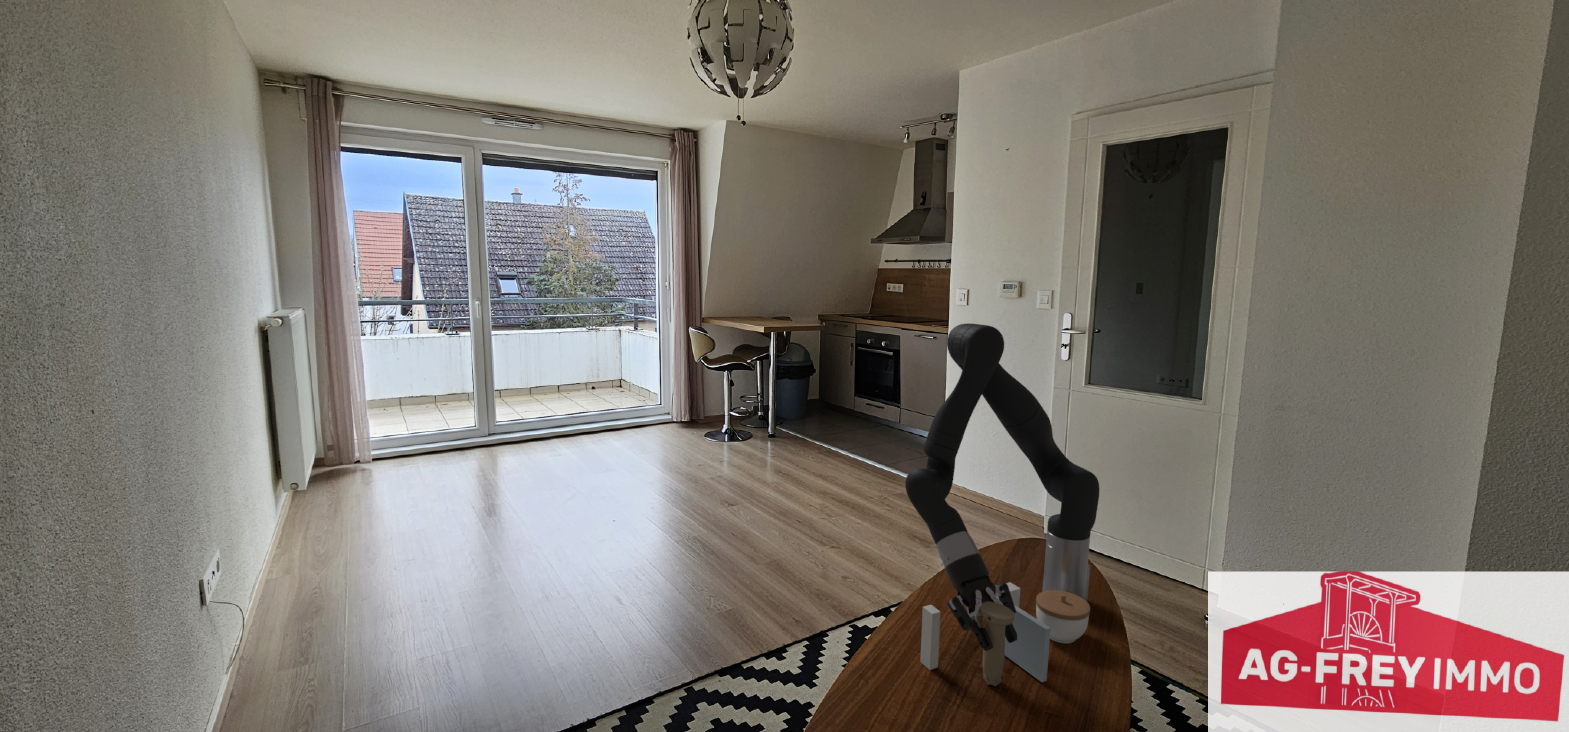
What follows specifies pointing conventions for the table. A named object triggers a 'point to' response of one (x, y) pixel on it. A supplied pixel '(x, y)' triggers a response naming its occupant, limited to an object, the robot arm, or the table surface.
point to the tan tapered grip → (995, 640)
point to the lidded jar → (1063, 614)
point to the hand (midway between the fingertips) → (1001, 644)
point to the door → (1029, 644)
